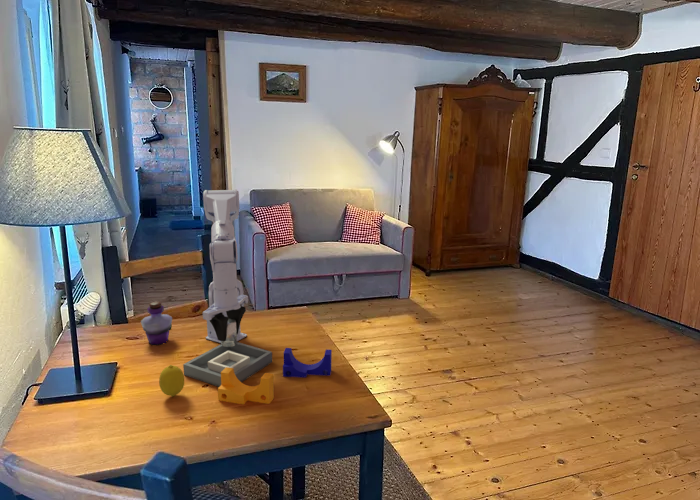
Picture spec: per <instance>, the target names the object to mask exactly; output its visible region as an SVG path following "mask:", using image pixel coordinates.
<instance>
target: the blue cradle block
mask: <svg viewBox="0 0 700 500" xmlns="http://www.w3.org/2000/svg"><path fill="white" fill-rule="evenodd" d="M332 352H333V351H332V349H327V348H326V349H325V352H324V355H323V358H322V359H320V361H317V362H315V363H312V364H306V363H304V362H301V361H299V360H298V359H297V358H296V357H295V356H294V354H293V350H292V347H285V348H284V350H283V365H282V377H285V378H286V377H288V378H307V376H308V375H309V376H328V377H329V376H331V374H332V355H333V354H332Z"/></svg>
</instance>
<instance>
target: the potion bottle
mask: <svg viewBox="0 0 700 500" xmlns="http://www.w3.org/2000/svg"><path fill="white" fill-rule="evenodd" d="M148 305H149V306H148V307H147V313H148V314H150V315H148V316H145V317H144V318H142V319H141V320H140V323H141V326H142V330H143V332H145V335H146V338H147V341H148V344H149V345H151V346H162V345H164V344H163V343H165V344H167V343H168V342H169V334H170V331H171V330H172V323H173V317H172V316H171V315H169V314H168V313H167V314H166V313H165V314H164V313H163V312H164V311H165V306H164V305H162V302H161V301H157V300H156V301H152V302H150V303H149V304H148ZM162 313H163V314H162ZM166 341H167V342H166Z"/></svg>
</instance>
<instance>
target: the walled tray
mask: <svg viewBox="0 0 700 500" xmlns="http://www.w3.org/2000/svg"><path fill="white" fill-rule="evenodd" d="M271 363H273V352H272V351H271V350H268V349H267V350H266V349H263V348H259V347H256V346H253V345H249V344H245V343H242V342H239V341H237V344H236V345H234V346H231V347H225V346H222V345H221V343H220V344H219V345H217V346H215V347H213V348H211V349H209V350H207V351H205V352H204V353H202V354H200V355H198V356H196V357H194V358H192V359H190V360H189V361H187V362H184V363H183V364H182V366H183V368H182V369H183V375H184V377H185V376H186V377H189V378H192V379H194V380H197V381H201V382H202V383H205V384H209V385H212V386H214V387H217V388H219V387H220V386H221V372H222V371H223V370H224V369H225V368H226V367H228V368H233V369H234V373H235V375H236V377H237V379H238V380H239V381H240V382H242V383H243V382H245V381H246V380H248V379H249V378H250V377H252V376H253V375H255V374H256V373H258V372H260V371H261V370H262V369H264V368H265V367H267V366H268V365H270V364H271Z"/></svg>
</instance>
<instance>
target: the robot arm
mask: <svg viewBox="0 0 700 500" xmlns="http://www.w3.org/2000/svg"><path fill="white" fill-rule="evenodd" d="M202 195H203V198H202V199H203V209H204V213H205V217H206V220H209V221H211V222H212V223H213V224H212V225H211V232H210V233H211V237H210V238H211V239H210V240H211V242H210V243H209V260H210V264H211V271H212V277H213V278H212V282H210V284H209V286H208V308H206V310H204V311H202V319H203V320H205V321H206V331H207V333H206V334H207V336H205V339H206V340H208V341H209V340H210V341H212V342H216V343H220V344H221V341H226V328H227V323H228V320H229V319H234V320H236V331H237V342H239V341H241V340H242V339H244V338H245V337H247V336H248V334H247V333H243V332H241V331H242V330H241V323H242V319H243V316H244V314H245V313H246V312H247V311H246V310H247V308H246V307H245V306H244V305H246V304H248V303H249V296H248V295H247V294H244V287H243V285H244V284H243V283H242V281H240V280H239V279H238V277H237V262H238V243H237V240H236V237H235V228H234V225H233V221H235V220H237V219H238V218H239V215H240V193H239V190H238V189H225V190H224V189H220V190H219V189H216V190H212V189H211V190H208V189H204V191H203V193H202Z"/></svg>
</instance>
